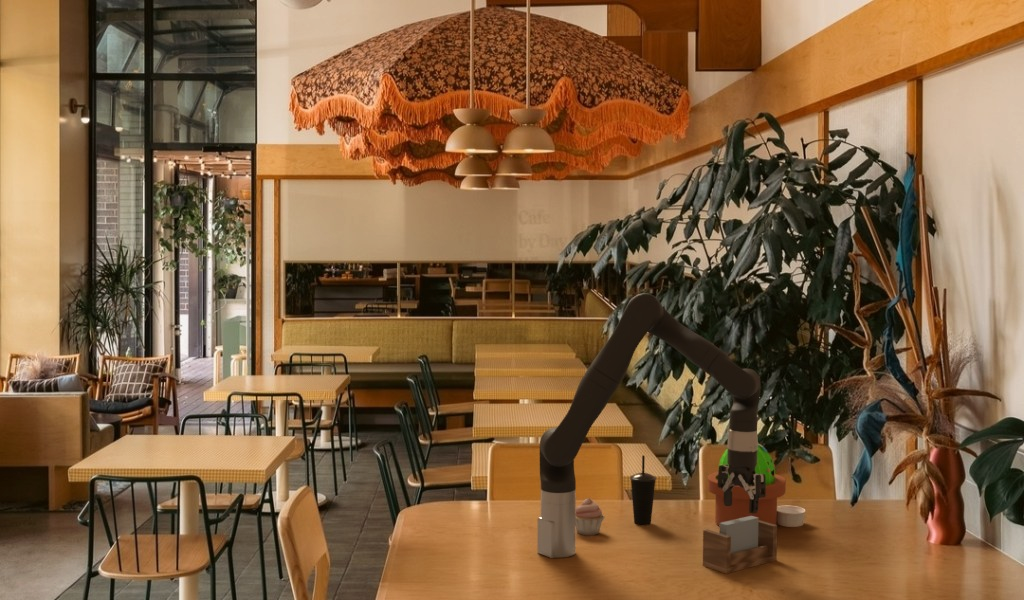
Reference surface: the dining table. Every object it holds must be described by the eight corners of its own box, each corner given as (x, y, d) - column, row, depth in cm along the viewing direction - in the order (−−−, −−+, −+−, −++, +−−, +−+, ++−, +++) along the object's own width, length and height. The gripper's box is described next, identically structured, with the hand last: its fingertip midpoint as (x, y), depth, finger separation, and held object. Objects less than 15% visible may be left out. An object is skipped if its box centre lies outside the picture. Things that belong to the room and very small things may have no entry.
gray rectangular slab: (725, 563, 279) (726, 525, 278) (718, 561, 281) (719, 522, 280) (757, 555, 286) (758, 517, 285) (750, 553, 288) (751, 515, 287)
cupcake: (593, 539, 304) (593, 503, 303) (565, 533, 310) (565, 498, 309) (611, 531, 312) (611, 497, 311) (583, 526, 317) (583, 492, 316)
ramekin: (808, 528, 316) (808, 513, 316) (777, 527, 316) (777, 513, 316) (801, 519, 325) (801, 505, 325) (771, 519, 325) (771, 505, 325)
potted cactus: (697, 528, 315) (698, 442, 313) (720, 510, 335) (721, 429, 333) (773, 538, 305) (775, 450, 303) (792, 519, 324) (794, 436, 323)
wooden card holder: (726, 573, 275) (726, 537, 274) (702, 565, 281) (703, 530, 280) (776, 560, 286) (777, 525, 285) (752, 552, 292) (753, 518, 292)
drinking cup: (647, 528, 315) (648, 459, 313) (624, 523, 320) (625, 456, 318) (660, 522, 321) (661, 455, 319) (638, 518, 326) (638, 451, 324)
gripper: (711, 443, 285) (710, 505, 286) (753, 453, 273) (751, 517, 274) (731, 440, 289) (730, 501, 290) (774, 450, 278) (771, 513, 279)
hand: (740, 509), depth 282 cm, fingers open, 8 cm apart
